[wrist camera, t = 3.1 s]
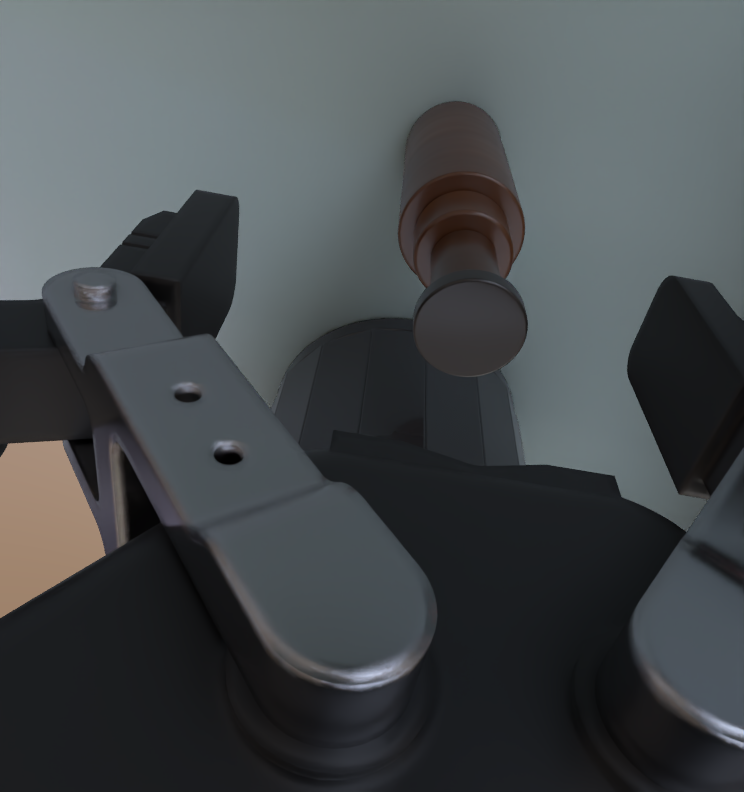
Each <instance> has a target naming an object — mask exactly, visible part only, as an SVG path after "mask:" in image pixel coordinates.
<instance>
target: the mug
mask: <svg viewBox="0 0 744 792" xmlns="http://www.w3.org/2000/svg"><path fill="white" fill-rule="evenodd" d="M271 410H272V412H273V413H274V414H275V415H276V417H277V418H278V419H279V420H280V422H281V423H282V424H283V426H284V427H285V428H286V429H287V431H288V432H289V433H290V434H291V436H292V437H293V438H294V439H295V441H296V442H297V443H298V445H299V446H300V447H301V448H302V450H303V451H310V450H322V449H330V446H331V440H332V434H333V430H338V431H344V432H350V433H356V434H362V435H369V436H375V437H381V438H387V439H393V440H399V441H404V442H407V443H410V444H413V445H416V446H419V447H422V448H425V449H428V450H431V451H433V452H436V453H439V454H442V455H445V456H448V457H451V458H454V459H457V460H460V461H463V462H466V463H469V464H472V465H477V466H509V465H526V462H525V456H524V451H523V445H522V439H521V433H520V427H519V422H518V419H517V416H516V413H515V408H514V403H513V399H512V395H511V391H510V389H509V387H508V384H507V382H506V380H505V378H504V376H503V375H502V373H501V371H500V370H499V369H498V370H496V371H494V372H492V373H489V374H486V375H482V376H476V377H460V376H454V375H450V374H447V373H445V372H442V371H440V370H438V369H436V368H435V367H433V366H432V365H431V364H429V363H428V362H427V361H426V360H425V359H424V358H423V356H422V355H421V354H420V352H419V350H418V349H417V347H416V344H415V341H414V337H413V320H408V319H385V318H383V319H374V320H366V321H362V322H357V323H353V324H349V325H346V326H344V327H341V328H338V329H336V330H333V331H332V332H330V333H328V334H326V335H324V336H322V337H320V338H319V339H317V340H316V341H314V342H313V343H312V344H310V345H309V346H308V347H306V348H305V349H304V350H303V351H302V352H301V353H300V354H299V355H298V356H297V357H296V358H295V360H294V361H293V362H292V364H291V365H290V366H289V368H288V369H287V371H286V373H285V375H284V377H283V378H282V381H281V384H280V387H279V390H278V393H277V396H276V398H275V400H274V402H273V404H272V407H271Z"/></svg>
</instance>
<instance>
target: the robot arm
mask: <svg viewBox="0 0 744 792" xmlns="http://www.w3.org/2000/svg"><path fill="white" fill-rule="evenodd" d="M238 227H239V201H238V198H237V197H234V196H229V195H223V194H218V193H212V192H206V191H201V190H195V191H194V193H193V194H192V195H191V196H190V198H189V199H188V200H187V201H186V203H185V204H184V205H183V206H182V208H181V209H180V210H179V211H178V213H174V212H168V211H162V212H160V213H157V214H155V215H152V216H150V217H148V218H145V219H143V220H142V221H141V222H140V223H139V224H138V225H137V226H136V227H135V229H134V230H133V231H132V234H129V235H128V236H127V238H126V239H125V240H124V241H123V243H122V245H119V246H118V248H117V249H116V250H115V251H114V252H113V253H112V254H111V255H110V256H109V258H108V259H107V260H106V261H105V262H104V263H103V264H102V265H101V267H89V268H79V269H73V270H69V271H65V272H62V273H60V274H57V275H55V276H53V277H52V278H50V279H49V280H48V281H47V282H46V283H45V284H44V286H43V288H42V298H43V299H39V300H0V457H1V455H2V454H3V452H4V450H5V449H6V447H7V444H8V443H24V442H40V441H57V440H63V446H64V449H65V451H66V453H67V456H68V458H69V461H70V463H71V465H72V467H73V470H74V472H75V474H76V477H77V479H78V481H79V483H80V486H81V488H82V490H83V493H84V495H85V497H86V499H87V502H88V504H89V506H90V508H91V511H92V513H93V515H94V518H95V520H96V522H97V525H98V528H99V531H100V534H101V537H102V541H103V545H104V549H105V554H106V556H104V557H102V558H101V559H99V560H97V561H96V562H94V563H92V564H90V565H89V566H87V567H85V568H84V569H82V570H80V571H79V572H77V573H75V574H74V575H72V576H70V577H69V578H67V579H65V580H64V581H62V582H60V583H59V584H57V585H55V586H54V587H52V588H50V589H48V590H47V591H45V592H44V593H42V594H40V595H38V596H37V597H35V598H33V599H32V600H30V601H28V602H27V603H25V604H23V605H22V606H20V607H18V608H17V609H15V610H13V611H12V612H10V613H8V614H7V615H5V616H3V617H2V618H0V792H744V320H742V319H741V318H740V317H738V316H737V315H736V314H735V312H734V311H733V310H732V308H731V307H730V306H729V304H728V303H727V302H726V300H725V299H724V298H723V297H722V295H721V294H720V293H719V291H718V290H717V289H716V287H715V286H714V285H713V284H712V283H710V282H705V281H700V280H694V279H689V278H683V277H677V276H668V277H667V278H665V279H664V280H663V282H662V283H661V285H660V286H659V288H658V290H657V292H656V294H655V297H654V299H653V301H652V303H651V305H650V307H649V310H648V312H647V314H646V316H645V318H644V321H643V323H642V325H641V327H640V329H639V332H638V334H637V336H636V338H635V340H634V343H633V345H632V347H631V350H630V353H629V357H628V365H627V372H628V378H629V380H630V383H631V385H632V387H633V390H634V392H635V394H636V397H637V399H638V401H639V404H640V406H641V408H642V410H643V413H644V415H645V417H646V420H647V422H648V424H649V427H650V429H651V431H652V433H653V436H654V438H655V440H656V443H657V445H658V447H659V450H660V452H661V454H662V457H663V459H664V461H665V463H666V466H667V468H668V470H669V473H670V475H671V477H672V480H673V482H674V484H675V487H676V489H677V491H678V493H679V495H685V496H692V497H698V498H704V499H709V500H708V501H707V503H706V504H705V506H704V507H703V509H702V510H701V512H700V513H699V515H698V516H697V518H696V519H695V521H694V522H693V524H692V525H691V527H690V528H689V530H688V531H687V532H686V531H684V530H683V529H681V528H680V527H679V526H677V525H676V524H674V523H673V522H671V521H669V520H668V519H666V518H665V517H663V516H661V515H660V514H658V513H656V512H654V511H652V510H650V509H648V508H646V507H644V506H642V505H639V504H637V503H635V502H632V501H630V500H627V499H624V498H622V497H621V494H620V491H619V488H618V485H617V482H616V479H615V476H611V475H605V474H599V473H593V472H587V471H581V470H575V469H569V468H563V467H557V466H551V465H509V466H477V465H472V464H469V463H466V462H463V461H460V460H457V459H454V458H451V457H448V456H445V455H442V454H439V453H436V452H433V451H431V450H428V449H425V448H422V447H419V446H416V445H413V444H410V443H407V442H404V441H399V440H393V439H387V438H381V437H375V436H369V435H362V434H356V433H350V432H344V431H338V430H333V434H332V440H331V446H330V449H322V450H310V451H303V450H302V448H301V447H300V446H299V445H298V443H297V442H296V441H295V439H294V438H293V437H292V436H291V434H290V433H289V432H288V431H287V429H286V428H285V427H284V426H283V424H282V423H281V422H280V420H279V419H278V418H277V417H276V415H275V414H274V413H273V412H272V410H271V409H270V408H269V407H268V405H267V404H266V403H265V402H264V400H263V399H262V398H261V396H260V395H259V394H258V393H257V391H256V390H255V389H254V388H253V386H252V385H251V384H250V383H249V381H248V380H247V379H246V377H245V376H244V375H243V374H242V372H241V371H240V370H239V369H238V367H237V366H236V365H235V364H234V362H233V361H232V360H231V359H230V357H229V356H228V355H227V353H226V352H225V351H224V350H223V348H222V347H221V346H220V345H219V343H218V342H217V341H216V340H215V339H216V337H217V334H218V332H219V330H220V328H221V326H222V324H223V322H224V320H225V318H226V316H227V314H228V312H229V309H230V307H231V304H232V300H233V296H234V290H235V284H236V269H237V248H238Z"/></svg>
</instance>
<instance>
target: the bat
mask: <svg viewBox="0 0 744 792" xmlns="http://www.w3.org/2000/svg"><path fill="white" fill-rule="evenodd" d="M524 235H525V221H524V215H523V211H522V208H521V204H520V201H519V198H518V194H517V191H516V188H515V184H514V181H513V178H512V174H511V171H510V167H509V164H508V161H507V157H506V154H505V151H504V147H503V144H502V141H501V137H500V134H499V131H498V129H497V126H496V125H495V123H494V121H493V120H492V119H491V117H490V116H489V115H488V114H487V113H486V112H485V111H483V110H482V109H481V108H479V107H477V106H475V105H472V104H470V103H466V102H458V101H454V102H446V103H442V104H439V105H436V106H434V107H433V108H431V109H429V110H428V111H426V112H425V113H424V114H423V115H422V116H421V117H420V118H419V119H418V120H417V121H416V122H415V124H414V125H413V127H412V129H411V131H410V133H409V136H408V139H407V143H406V151H405V162H404V172H403V183H402V193H401V204H400V215H399V225H398V242H399V246H400V250H401V253H402V256H403V258H404V260H405V262H406V263H407V265H408V266H409V267H410V269H411V270H412V271H413V272H414V273H415V274H416V275H417V276H418V278H419V280H420V281H421V283H422V284H423V285H424V286H425V287H426V289H425V291H424V292H423V293H422V295H421V296H420V298H419V300H418V301H417V304H416V306H415V310H414V316H413V337H414V341H415V344H416V347H417V349H418V350H419V352H420V354H421V355H422V356H423V358H424V359H425V360H426V361H427V362H428V363H429V364H431V365H432V366H433V367H435V368H436V369H438V370H440V371H442V372H445V373H447V374H450V375H454V376H460V377H476V376H482V375H486V374H489V373H492V372H494V371H496V370H498V369H500V368H502V367H503V366H505V365H507V364H508V363H509V362H510V361H511V360H512V359H513V358H514V357H515V356H516V355H517V354H518V352H519V351H520V349H521V348H522V346H523V344H524V342H525V339H526V335H527V331H528V320H527V314H526V310H525V306H524V302H523V300H522V298H521V296H520V294H519V292H518V291H517V290H516V288H515V287H514V286H513V285H512V284H511V283H510V282H508V281H507V280H506V277H507V276H508V274H509V272H510V270H511V267H512V264H513V263H514V261H515V260H516V258H517V256H518V254H519V252H520V250H521V247H522V244H523V241H524Z"/></svg>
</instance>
